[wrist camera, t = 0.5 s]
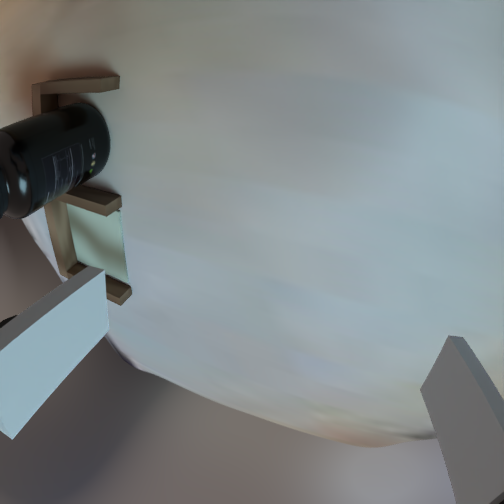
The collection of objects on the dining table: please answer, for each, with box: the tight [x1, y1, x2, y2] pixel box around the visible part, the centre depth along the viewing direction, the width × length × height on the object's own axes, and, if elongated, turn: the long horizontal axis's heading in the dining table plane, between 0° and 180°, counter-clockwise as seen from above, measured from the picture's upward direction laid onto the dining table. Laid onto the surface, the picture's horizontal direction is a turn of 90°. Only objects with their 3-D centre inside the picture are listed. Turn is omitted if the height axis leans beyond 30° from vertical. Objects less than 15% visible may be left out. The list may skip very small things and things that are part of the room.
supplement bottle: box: [0, 103, 110, 219], centre depth 18 cm, size 7×7×12 cm
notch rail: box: [32, 76, 132, 306], centre depth 25 cm, size 21×10×2 cm, turn 172°
